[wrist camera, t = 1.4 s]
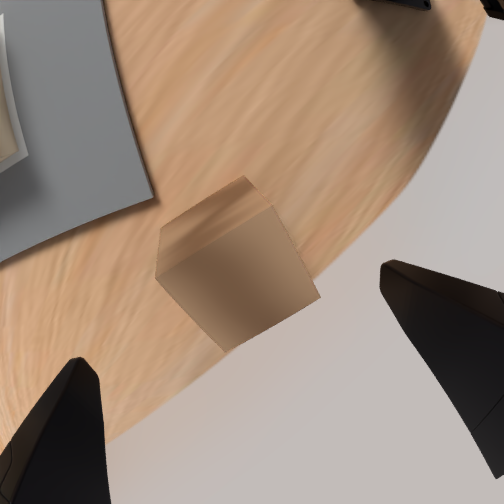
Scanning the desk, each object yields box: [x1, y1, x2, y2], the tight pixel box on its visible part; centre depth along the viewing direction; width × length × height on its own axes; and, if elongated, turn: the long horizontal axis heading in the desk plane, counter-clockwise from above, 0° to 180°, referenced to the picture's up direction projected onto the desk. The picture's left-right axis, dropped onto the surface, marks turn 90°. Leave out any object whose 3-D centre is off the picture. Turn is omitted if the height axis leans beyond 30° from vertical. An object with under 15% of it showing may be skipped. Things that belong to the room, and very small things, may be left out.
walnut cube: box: [155, 175, 321, 352], centre depth 14 cm, size 5×5×5 cm
